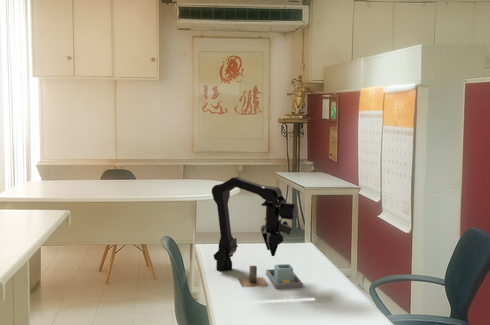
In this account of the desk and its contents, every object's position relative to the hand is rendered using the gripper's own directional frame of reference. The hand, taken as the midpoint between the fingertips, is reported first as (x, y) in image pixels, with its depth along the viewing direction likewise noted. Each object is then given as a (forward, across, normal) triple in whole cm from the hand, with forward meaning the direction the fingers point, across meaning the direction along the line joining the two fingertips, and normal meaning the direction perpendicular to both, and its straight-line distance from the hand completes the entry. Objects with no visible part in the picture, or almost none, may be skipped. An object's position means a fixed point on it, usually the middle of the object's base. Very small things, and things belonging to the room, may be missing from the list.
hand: (270, 252), depth 212 cm
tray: (+11, -6, -5) cm, 14 cm away
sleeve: (+10, -7, -5) cm, 13 cm away
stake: (+12, -6, +8) cm, 15 cm away
